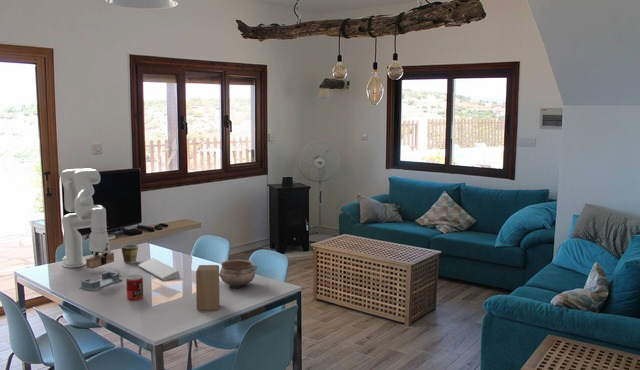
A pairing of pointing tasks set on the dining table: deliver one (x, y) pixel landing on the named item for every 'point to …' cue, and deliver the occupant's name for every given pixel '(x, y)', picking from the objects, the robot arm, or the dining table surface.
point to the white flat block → (159, 269)
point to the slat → (98, 260)
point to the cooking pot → (237, 272)
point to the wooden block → (207, 287)
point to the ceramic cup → (129, 253)
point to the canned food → (134, 287)
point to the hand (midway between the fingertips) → (100, 263)
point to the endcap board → (101, 281)
